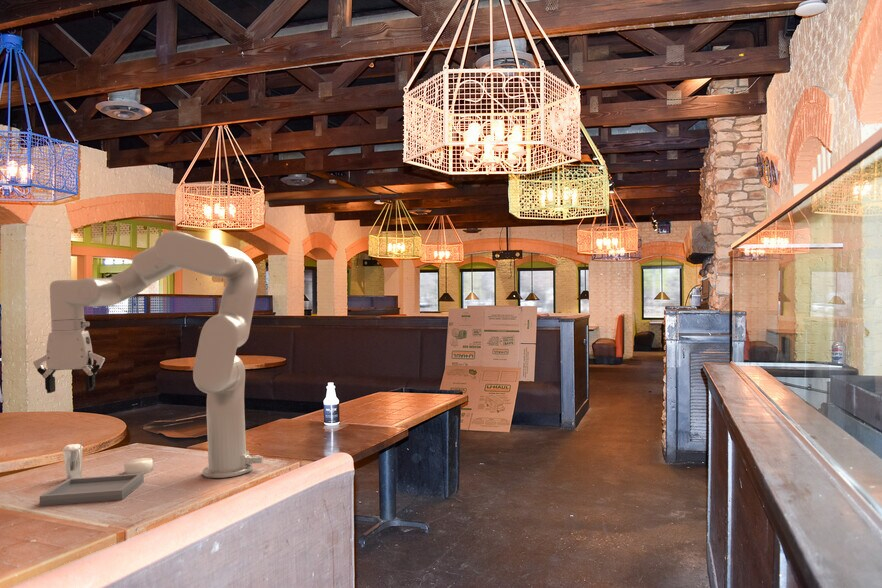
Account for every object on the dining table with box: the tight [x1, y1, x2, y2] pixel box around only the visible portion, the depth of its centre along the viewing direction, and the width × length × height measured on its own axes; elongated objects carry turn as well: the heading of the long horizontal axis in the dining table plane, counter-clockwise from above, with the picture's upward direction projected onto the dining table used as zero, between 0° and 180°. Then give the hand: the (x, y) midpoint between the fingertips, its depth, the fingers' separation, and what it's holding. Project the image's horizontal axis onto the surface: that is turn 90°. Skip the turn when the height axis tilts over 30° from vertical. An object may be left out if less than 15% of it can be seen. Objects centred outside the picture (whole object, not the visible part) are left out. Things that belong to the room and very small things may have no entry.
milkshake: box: [62, 440, 84, 480], centre depth 164 cm, size 4×5×10 cm
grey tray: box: [39, 473, 145, 507], centre depth 150 cm, size 18×14×2 cm
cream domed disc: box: [123, 457, 154, 475], centre depth 168 cm, size 7×7×3 cm
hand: (70, 391), depth 164 cm, fingers open, 9 cm apart
